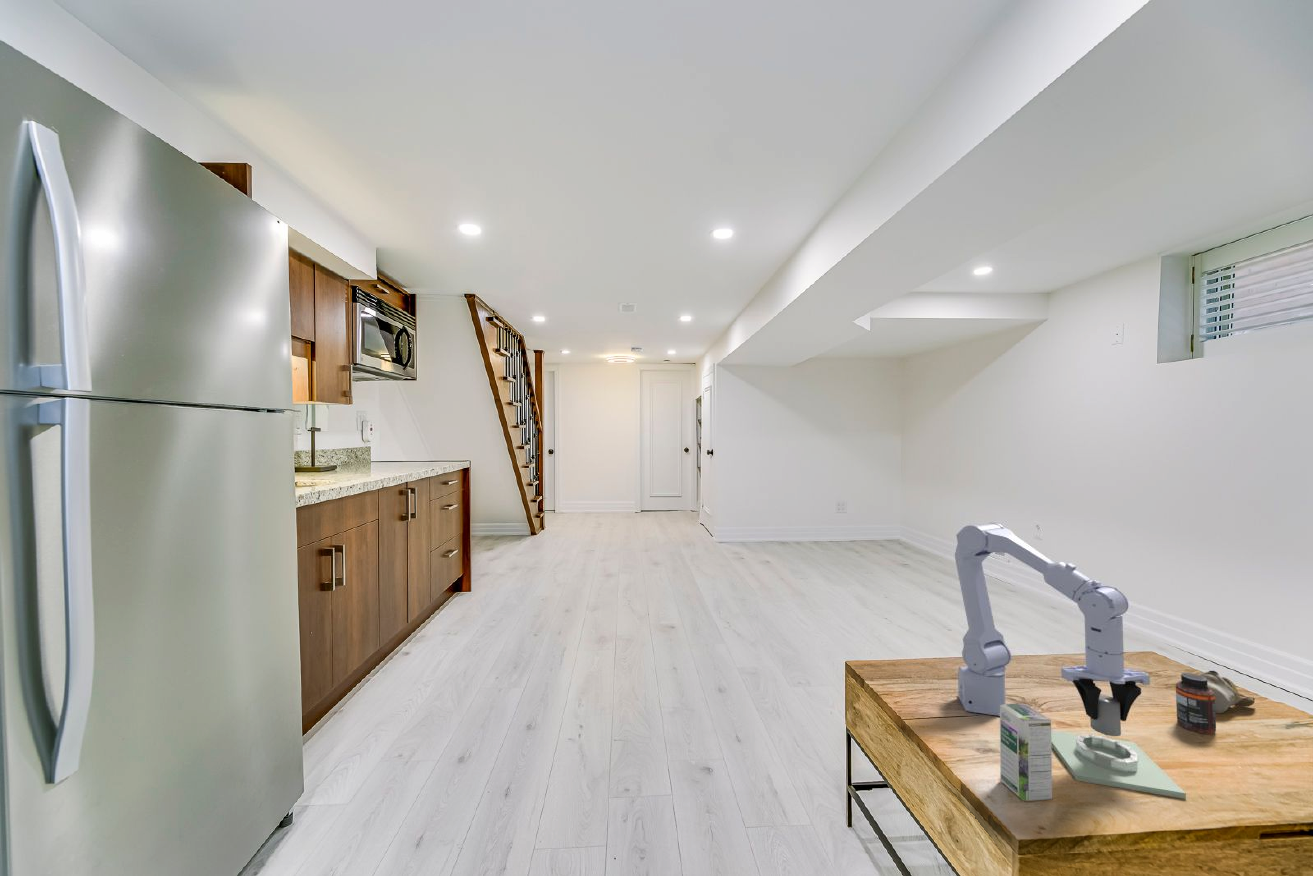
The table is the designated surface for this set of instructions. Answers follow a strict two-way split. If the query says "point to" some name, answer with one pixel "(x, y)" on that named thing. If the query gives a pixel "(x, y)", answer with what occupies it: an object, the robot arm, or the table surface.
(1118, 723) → the grey rounded block
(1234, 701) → the ceramic sculpture
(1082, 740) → the duct collar
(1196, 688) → the supplement bottle
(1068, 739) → the plate
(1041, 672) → the table surface
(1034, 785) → the syrup box
